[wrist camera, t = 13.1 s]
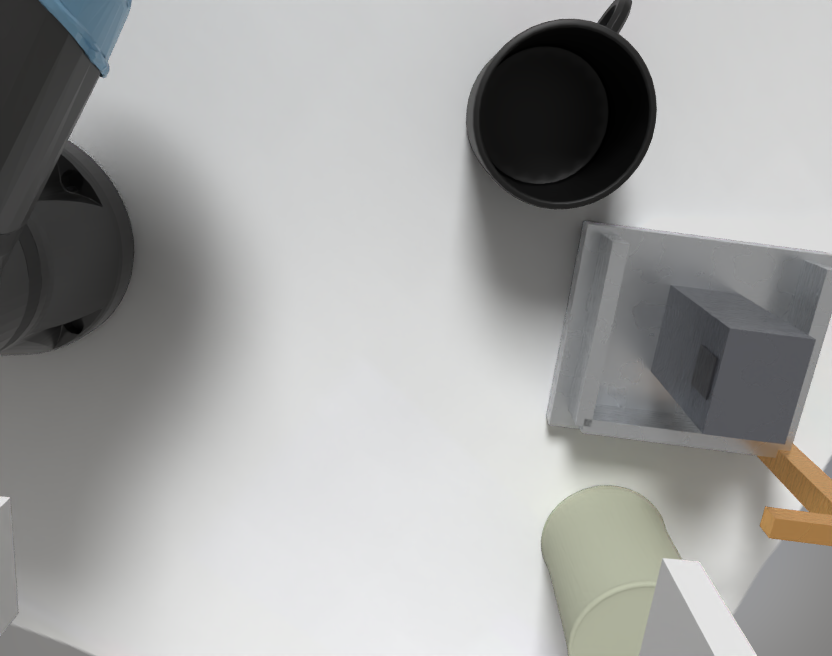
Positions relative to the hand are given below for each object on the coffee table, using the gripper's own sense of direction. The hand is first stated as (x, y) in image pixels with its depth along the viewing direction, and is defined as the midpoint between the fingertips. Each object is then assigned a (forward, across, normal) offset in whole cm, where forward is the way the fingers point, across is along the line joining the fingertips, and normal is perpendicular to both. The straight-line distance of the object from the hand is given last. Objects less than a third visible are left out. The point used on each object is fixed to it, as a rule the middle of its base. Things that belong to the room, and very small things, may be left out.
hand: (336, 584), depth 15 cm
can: (+35, +18, -20) cm, 44 cm away
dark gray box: (+33, +20, -3) cm, 39 cm away
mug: (+36, +9, +10) cm, 38 cm away
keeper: (+35, +20, -4) cm, 40 cm away
